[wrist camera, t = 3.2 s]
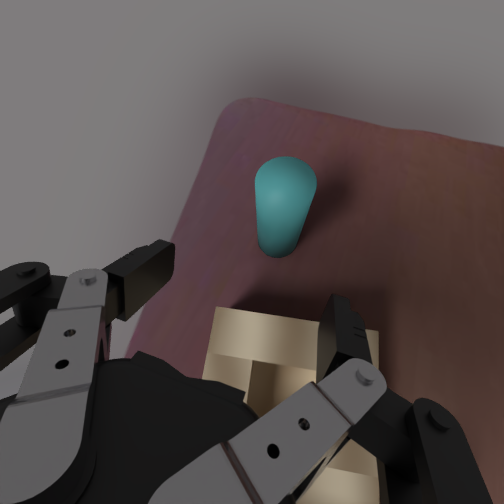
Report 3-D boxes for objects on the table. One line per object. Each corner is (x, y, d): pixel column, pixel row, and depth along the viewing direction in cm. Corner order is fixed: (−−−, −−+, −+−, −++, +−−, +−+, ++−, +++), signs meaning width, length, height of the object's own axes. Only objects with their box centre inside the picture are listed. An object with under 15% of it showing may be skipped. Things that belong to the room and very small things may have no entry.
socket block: (354, 332, 23) (378, 331, 18) (350, 496, 19) (379, 547, 15) (225, 312, 24) (216, 306, 19) (197, 464, 20) (178, 502, 16)
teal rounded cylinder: (298, 223, 26) (318, 159, 17) (295, 260, 25) (314, 212, 16) (260, 219, 27) (259, 153, 17) (255, 254, 26) (250, 205, 16)
